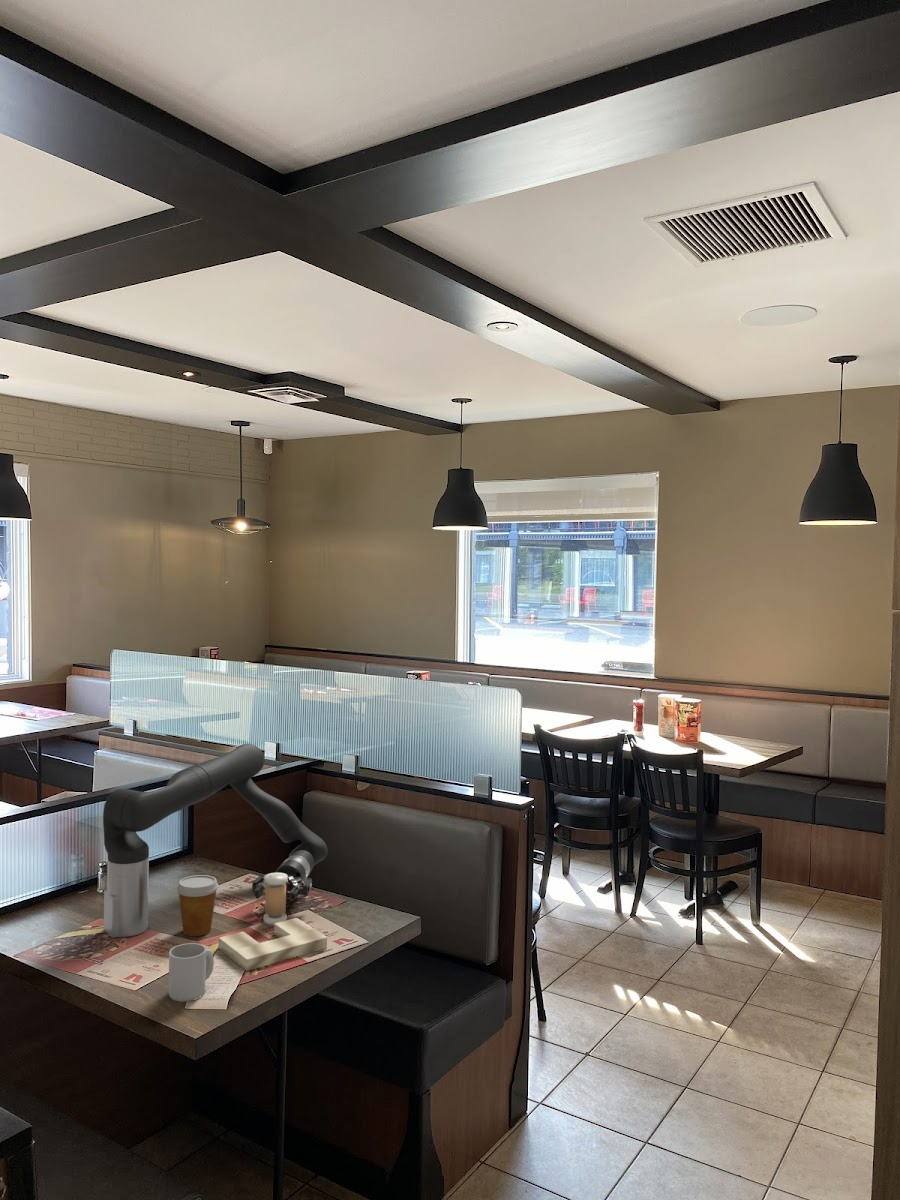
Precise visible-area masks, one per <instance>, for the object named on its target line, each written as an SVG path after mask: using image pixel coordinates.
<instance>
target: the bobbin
mask: <svg viewBox="0 0 900 1200" xmlns="http://www.w3.org/2000/svg"><path fill="white" fill-rule="evenodd" d="M287 881H288V875H287V874H285V873H275V872H271V873H267V874H265V875H264V882H265V883H266V884H267V885H266V886H265V885H264V889H265V893H264V896H265V898H264V913H265V914H263V923H264V924H265V925H270V926H274V923H278V922H282V921H286V920H288V919H287V918H288V917H287V916H288V915H287V913H286V909H287V893H286V884H285V883H287Z"/></svg>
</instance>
